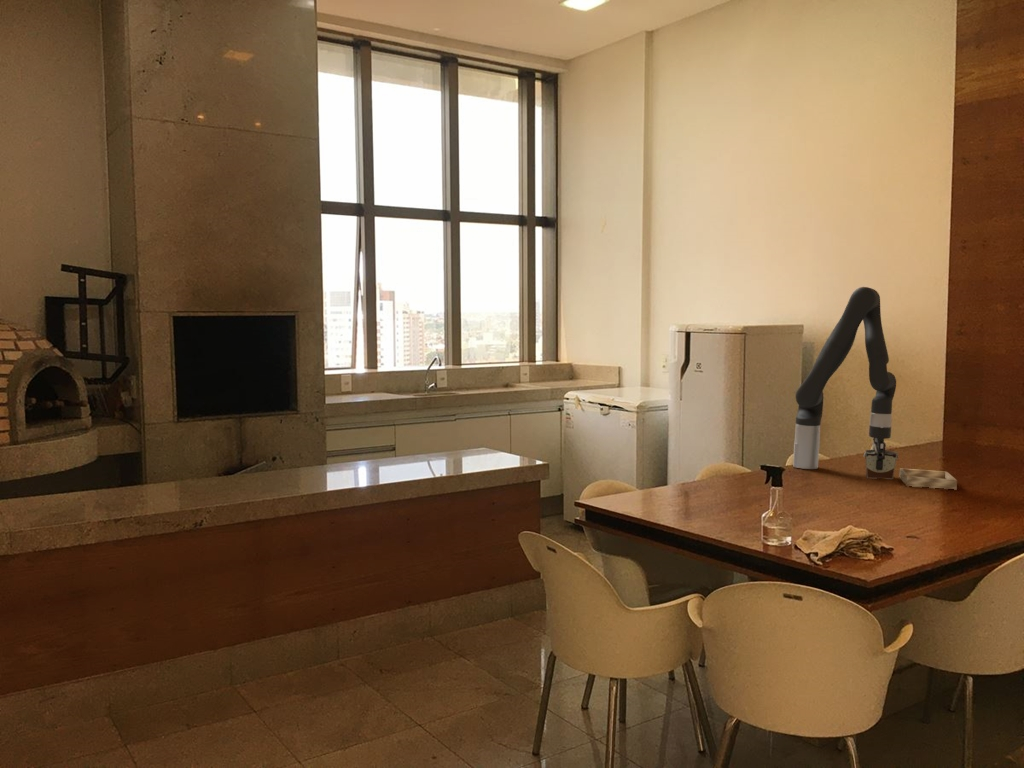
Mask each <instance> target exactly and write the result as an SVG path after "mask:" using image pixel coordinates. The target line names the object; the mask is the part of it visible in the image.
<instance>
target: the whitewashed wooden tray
mask: <svg viewBox="0 0 1024 768" xmlns="http://www.w3.org/2000/svg"><path fill="white" fill-rule="evenodd" d="M899 477H900V478H899V479H900V480H901V481H902V482H903V484H905V486H906V487H909V486H912V487H911V488H922V487H929V488H928V489H935V488H944V489H943V490H948V489H954V490H953V491H957V489H958V487H957V486H958V480H957V479H956V478H955V477H954V476H953V475H951V474H950V473H949V472H948V471H942V470H928V469H913V468H901V467H900V468H899Z"/></svg>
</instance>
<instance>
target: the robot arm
mask: <svg viewBox="0 0 1024 768" xmlns="http://www.w3.org/2000/svg"><path fill="white" fill-rule="evenodd" d="M881 312H882V311H881V296H880V293H879V292H878V291H877V290H876V289H875V288H872V287H868V286H861V287H858V288H856V289H855V290H854V291H852V293H851V295H850V297H849V299H848V301H847V305H846V306H845V308H844V311H843V312H842V315H841V317H840V318H839V320H838V322H837V323H836V325H835V326H834V328H833V329H832V331H831V333H830V335H829V336H828V338H827V339H826V341H825V342H824V344H823V346H822V348H821V349H820V352H819V353H818V355H817V358H816V360H814V361H815V362H814V363H813V366H812V368H811V370H810V371H809V374H807V377H805V379H804V380H803V382H802V383H801V384H800V386H799V387H798V388H797V390H796V392H795V401H796V404H798V409H797V414H796V417H795V427H794V428H795V430H794V442H793V455H792V456H793V458H792V465H793V468H798V469H803V470H816V469H819V457H820V456H819V455H820V441H821V440H820V437H821V421H822V416H823V409H824V392H823V391H824V390H825V386H826V385H827V383H828V381H829V380H830V379H831V377H832V376H833V375H834V374H835V373H836V371H837V370H838V369H839V368H840V366H841V365H842V364H843V363H844V361H845V359H846V358H847V356H848V354H849V353H850V351H851V349H852V348H853V345H854V343H855V339H856V336H857V332H858V329H859V327H860V326H861V323H862V322H863V328H864V344H865V352H866V356H867V359H868V360H867V361H868V379H869V382H870V386H871V387H872V389H873V390H875V396H874V397H873V398H872V400H871V407H870V409H871V410H870V416H869V424H868V425H869V428H868V437H869V438H873V439H872V440H873V441H872V450H875V454H876V470H882V469H883V460H884V459H885V450H886V448H887V447H886V446H887V443H885V439H886V440H887V439H891V438H892V421H893V419H892V411H893V400H894V397H895V394H896V389H897V377H896V376H895V375H894V374H893V373H892V372H889V371H888V367H887V366H888V365H887V364H888V363H889V362H890V360H889V359H890V358H889V352H888V349H887V343H886V339H885V335H884V331H883V325H882V317H881V316H882V314H881ZM879 455H882V456H879Z"/></svg>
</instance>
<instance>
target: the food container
mask: <svg viewBox="0 0 1024 768" xmlns="http://www.w3.org/2000/svg"><path fill="white" fill-rule="evenodd" d="M879 456H882V455H879ZM863 458H865V459H864V460H865V477H866V479H877V478H886V479H885V480H894V477H895V476H894V475H895V469H896V464H897V463H896V462H897V459H899V454H898V452H896V451H893V450H886V449H885V459H884V460H883V469H882V470H876V454H875V450H873V449H867V450H865V451H864V453H863Z"/></svg>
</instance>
